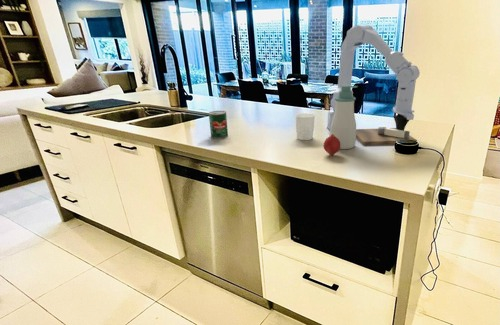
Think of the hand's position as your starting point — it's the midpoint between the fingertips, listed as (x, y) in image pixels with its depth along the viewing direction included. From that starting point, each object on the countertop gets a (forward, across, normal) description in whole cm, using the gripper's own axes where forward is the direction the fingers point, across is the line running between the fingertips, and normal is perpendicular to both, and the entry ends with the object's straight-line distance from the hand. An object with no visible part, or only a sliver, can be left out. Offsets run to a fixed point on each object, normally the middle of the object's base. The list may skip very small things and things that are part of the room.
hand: (399, 133), depth 119 cm
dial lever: (+1, 0, +3) cm, 3 cm away
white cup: (+3, +6, +37) cm, 37 cm away
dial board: (+3, +3, +6) cm, 7 cm away
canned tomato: (+3, +13, +75) cm, 76 cm away
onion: (+3, -16, +30) cm, 34 cm away
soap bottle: (+3, -6, +24) cm, 25 cm away
